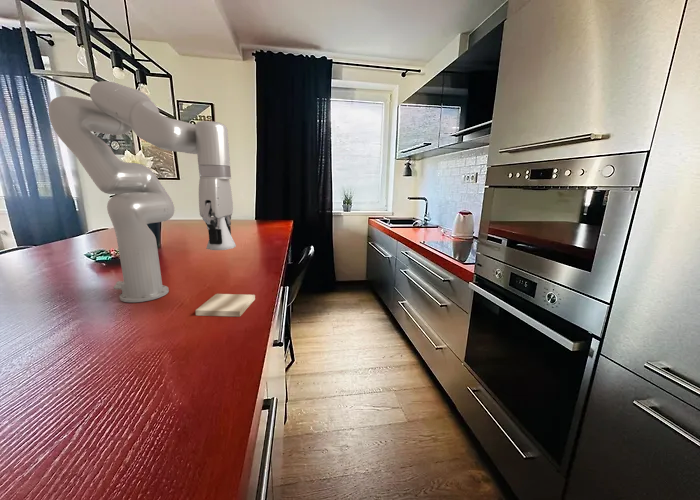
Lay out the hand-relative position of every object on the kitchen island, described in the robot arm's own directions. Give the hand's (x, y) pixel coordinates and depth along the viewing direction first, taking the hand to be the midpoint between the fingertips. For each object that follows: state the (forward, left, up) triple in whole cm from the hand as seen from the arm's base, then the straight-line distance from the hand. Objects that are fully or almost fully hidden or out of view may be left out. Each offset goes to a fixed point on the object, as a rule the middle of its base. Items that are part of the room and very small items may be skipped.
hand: (220, 241), depth 80 cm
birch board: (0, 0, -19) cm, 19 cm away
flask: (0, 0, -2) cm, 2 cm away
